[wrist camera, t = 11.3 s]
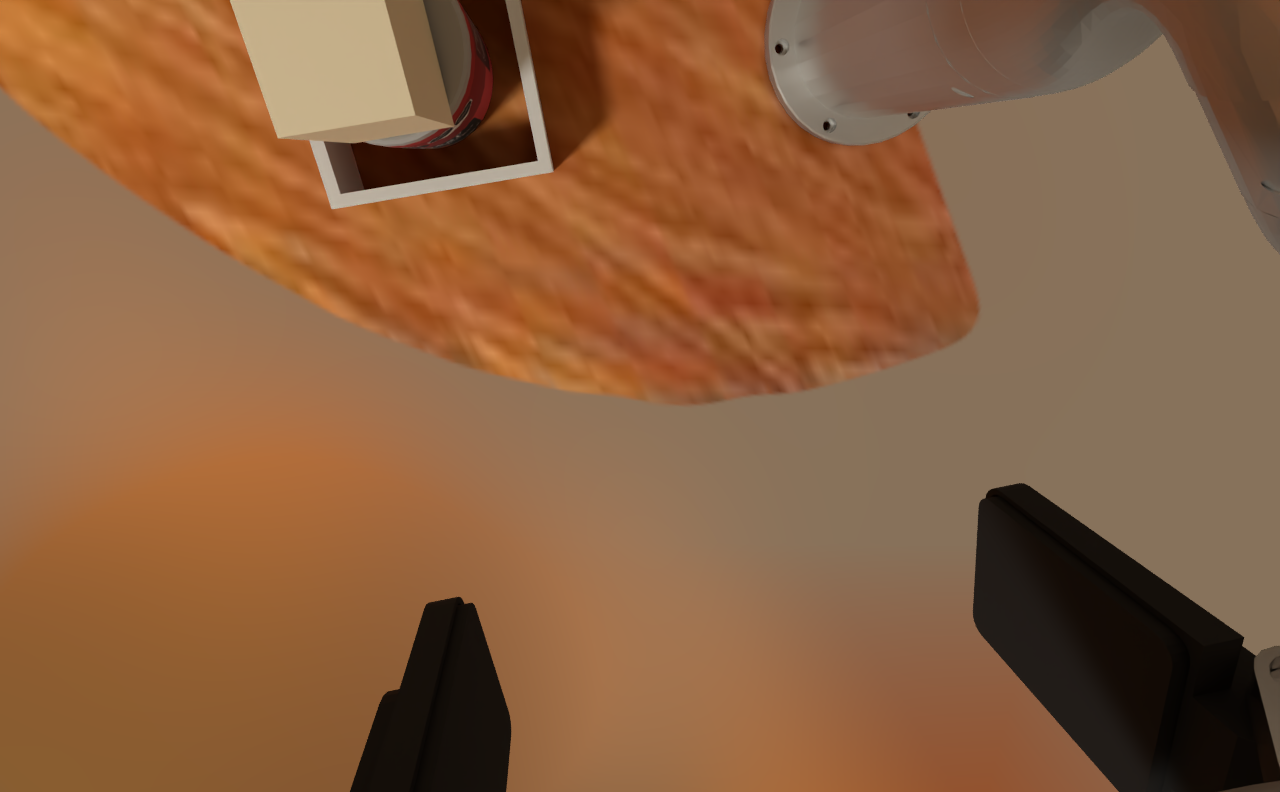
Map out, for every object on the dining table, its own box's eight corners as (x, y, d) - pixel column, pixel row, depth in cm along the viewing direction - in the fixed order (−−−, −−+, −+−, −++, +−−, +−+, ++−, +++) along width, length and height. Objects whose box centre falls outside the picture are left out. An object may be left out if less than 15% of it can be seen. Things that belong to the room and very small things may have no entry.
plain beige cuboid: (408, -59, 25) (344, -147, 18) (454, 126, 28) (415, 115, 21) (297, -41, 25) (186, -124, 18) (353, 143, 28) (278, 137, 20)
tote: (508, -63, 35) (501, -93, 31) (553, 170, 39) (552, 171, 35) (284, -30, 34) (245, -56, 30) (356, 203, 39) (332, 209, 35)
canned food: (358, 136, 37) (281, 128, 27) (362, -16, 35) (279, -88, 25) (488, 161, 39) (461, 162, 29) (501, 16, 36) (477, -40, 26)
